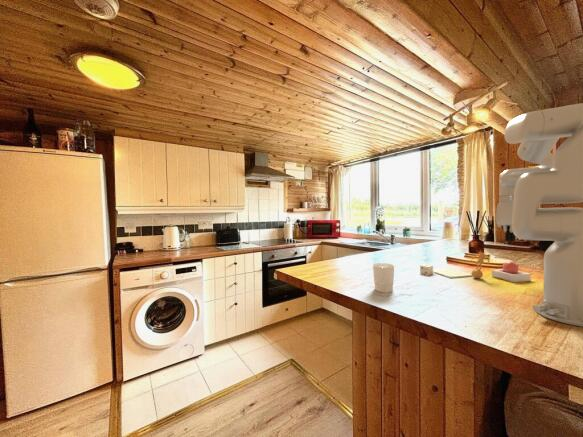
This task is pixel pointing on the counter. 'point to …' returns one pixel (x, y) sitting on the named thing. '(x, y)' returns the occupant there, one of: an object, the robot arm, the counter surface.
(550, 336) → the counter surface
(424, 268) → the ivory die
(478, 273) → the figurine
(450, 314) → the counter surface
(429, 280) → the counter surface
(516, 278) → the popper box
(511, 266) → the dome button
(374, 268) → the white cup
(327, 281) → the counter surface
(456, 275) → the tile
